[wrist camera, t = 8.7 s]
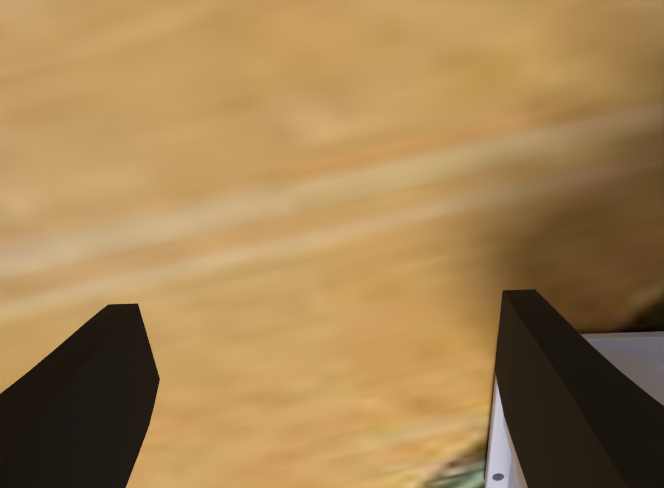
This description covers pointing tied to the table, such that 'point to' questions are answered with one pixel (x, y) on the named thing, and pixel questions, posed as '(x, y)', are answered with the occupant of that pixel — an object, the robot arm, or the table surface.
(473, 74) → the table surface
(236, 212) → the table surface
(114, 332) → the robot arm
